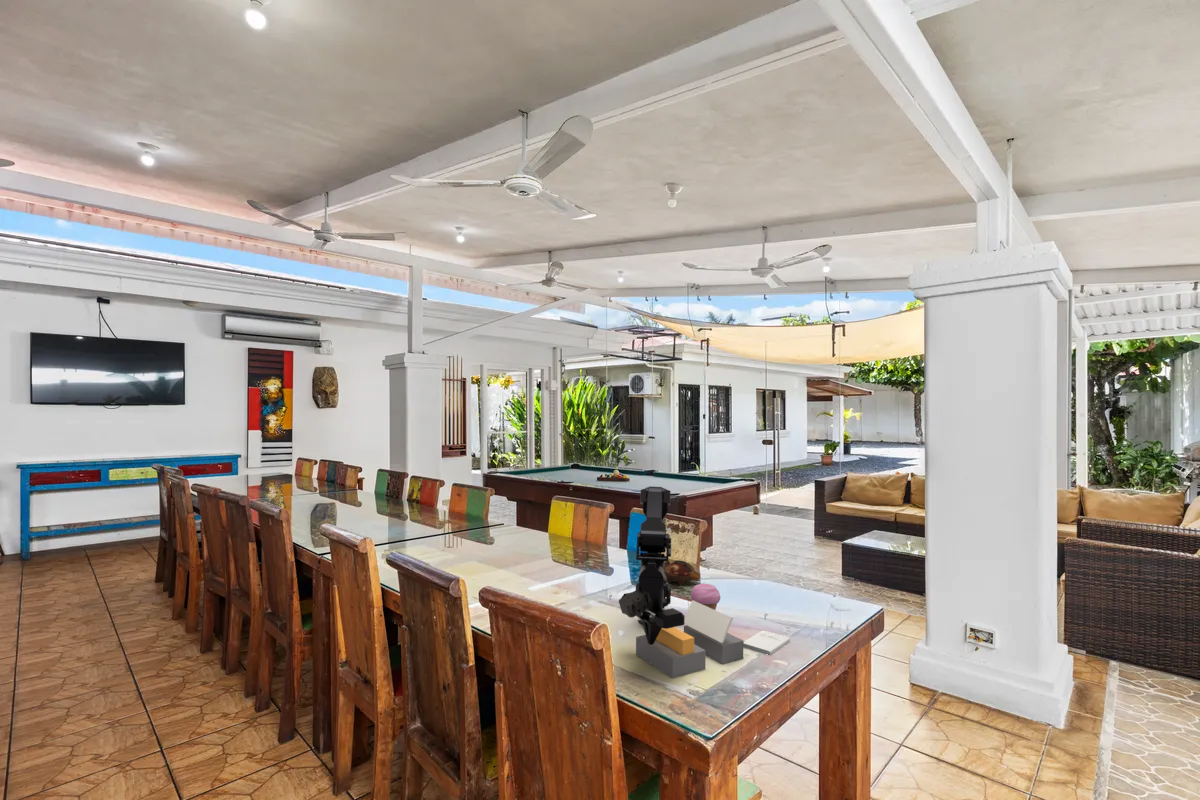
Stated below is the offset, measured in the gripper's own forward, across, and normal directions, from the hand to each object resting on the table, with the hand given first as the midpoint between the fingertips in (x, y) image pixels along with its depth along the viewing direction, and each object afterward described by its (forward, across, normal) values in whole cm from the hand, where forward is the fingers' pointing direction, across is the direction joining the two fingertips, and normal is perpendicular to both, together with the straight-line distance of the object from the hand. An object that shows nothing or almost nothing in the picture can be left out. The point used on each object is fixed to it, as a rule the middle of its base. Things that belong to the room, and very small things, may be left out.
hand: (650, 644), depth 149 cm
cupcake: (+6, -20, +34) cm, 40 cm away
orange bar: (+1, 0, +6) cm, 6 cm away
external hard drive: (+6, +4, +35) cm, 36 cm away
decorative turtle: (+6, -51, +49) cm, 71 cm away
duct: (+5, 0, +12) cm, 13 cm away
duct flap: (-3, 0, +17) cm, 18 cm away
